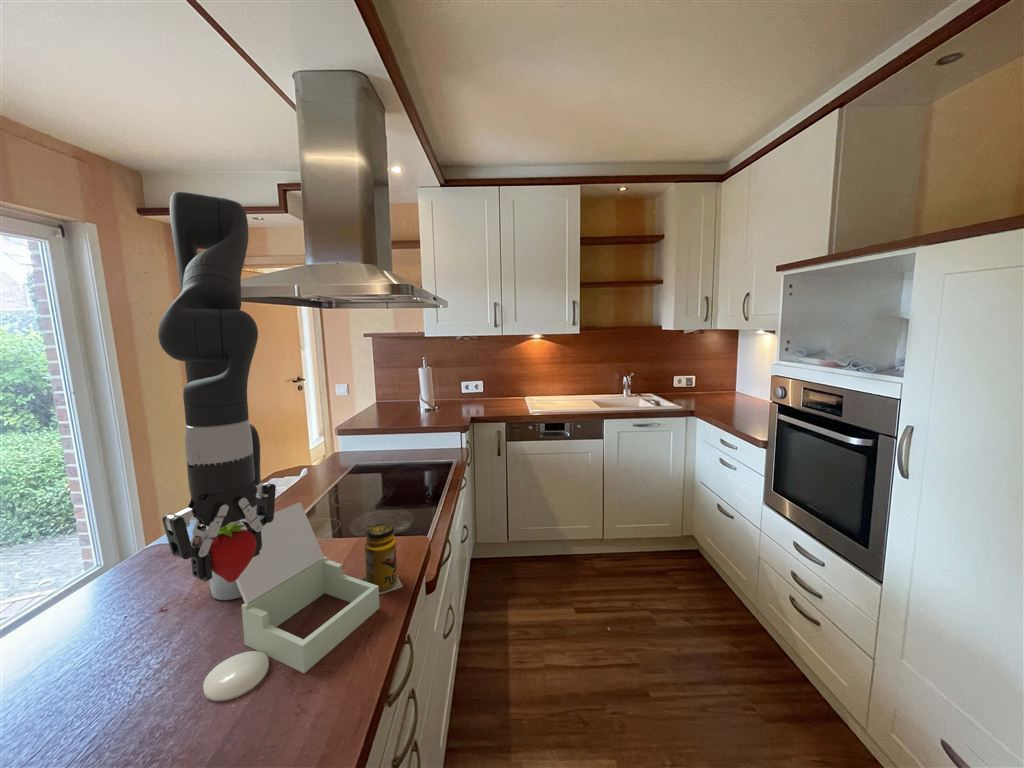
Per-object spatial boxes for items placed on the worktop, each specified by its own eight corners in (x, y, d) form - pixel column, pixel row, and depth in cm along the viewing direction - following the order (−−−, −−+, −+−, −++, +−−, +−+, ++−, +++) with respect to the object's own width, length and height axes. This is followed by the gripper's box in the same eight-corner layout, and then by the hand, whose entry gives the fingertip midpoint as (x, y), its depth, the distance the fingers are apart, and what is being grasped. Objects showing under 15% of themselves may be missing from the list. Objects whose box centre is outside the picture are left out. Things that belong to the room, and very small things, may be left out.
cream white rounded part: (191, 688, 57) (190, 683, 57) (247, 649, 64) (247, 644, 64) (225, 709, 54) (225, 704, 54) (280, 666, 61) (280, 661, 61)
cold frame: (222, 633, 68) (214, 535, 66) (304, 581, 82) (300, 500, 80) (304, 673, 60) (297, 563, 58) (379, 608, 74) (376, 518, 72)
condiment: (403, 587, 81) (401, 531, 80) (360, 602, 76) (357, 542, 75) (392, 569, 87) (391, 517, 86) (351, 582, 82) (349, 527, 81)
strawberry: (234, 598, 54) (229, 528, 53) (190, 590, 56) (184, 522, 54) (269, 573, 60) (265, 510, 59) (228, 567, 61) (223, 505, 60)
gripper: (254, 438, 63) (261, 538, 65) (142, 464, 50) (154, 588, 52) (286, 444, 60) (292, 548, 62) (176, 473, 47) (188, 603, 49)
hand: (229, 566), depth 57 cm, fingers closed on strawberry, 6 cm apart
